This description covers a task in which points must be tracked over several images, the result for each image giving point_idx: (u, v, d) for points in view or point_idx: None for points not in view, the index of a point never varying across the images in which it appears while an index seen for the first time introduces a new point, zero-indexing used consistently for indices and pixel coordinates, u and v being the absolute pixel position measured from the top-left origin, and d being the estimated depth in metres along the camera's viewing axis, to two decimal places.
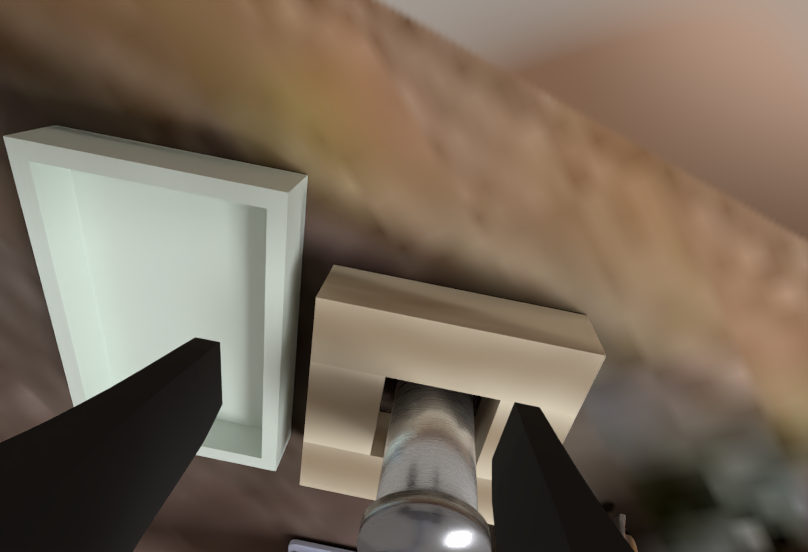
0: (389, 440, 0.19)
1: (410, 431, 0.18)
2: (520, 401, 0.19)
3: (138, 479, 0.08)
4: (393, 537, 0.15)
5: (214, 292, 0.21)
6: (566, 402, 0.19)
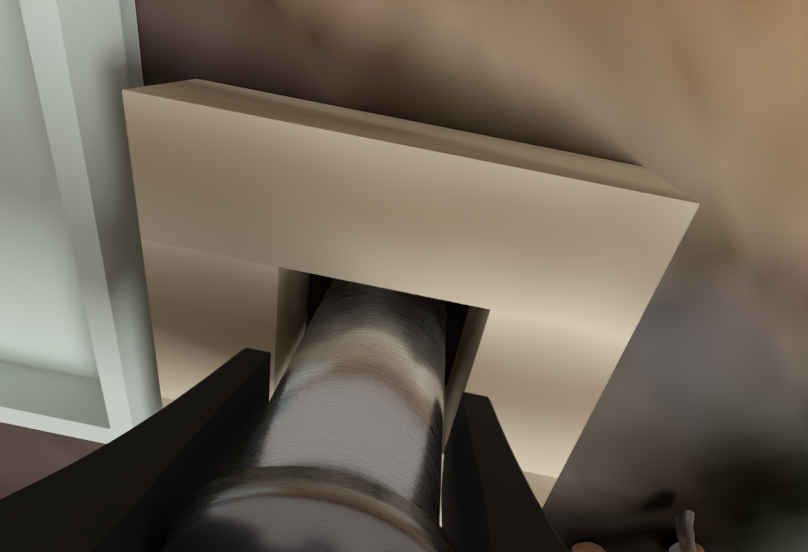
0: None
1: (313, 359, 0.09)
2: (527, 311, 0.10)
3: None
4: None
5: None
6: (613, 310, 0.10)
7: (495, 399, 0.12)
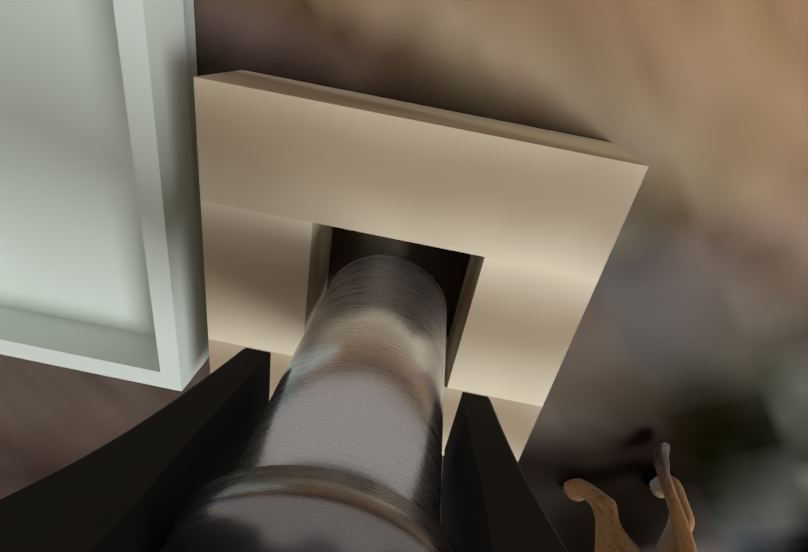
0: (280, 380, 0.10)
1: (313, 359, 0.09)
2: (514, 257, 0.13)
3: None
4: None
5: (75, 119, 0.15)
6: (583, 256, 0.13)
7: (489, 336, 0.14)
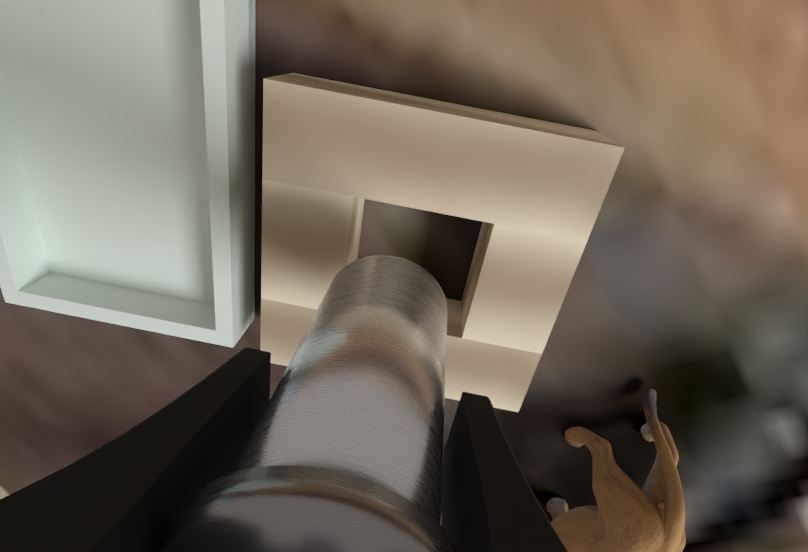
0: None
1: (314, 359, 0.09)
2: (518, 224, 0.16)
3: None
4: None
5: (152, 114, 0.18)
6: (574, 222, 0.16)
7: (497, 292, 0.17)
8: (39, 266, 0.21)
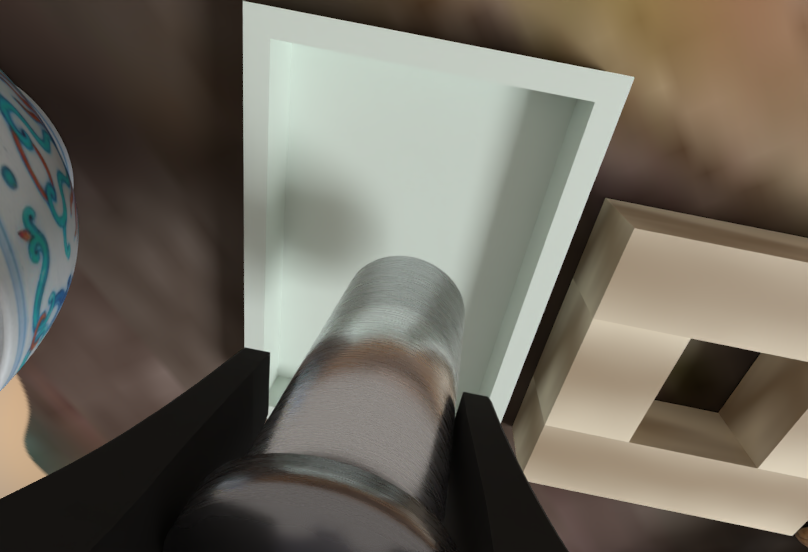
0: None
1: (326, 354, 0.10)
2: None
3: None
4: None
5: (443, 235, 0.17)
6: None
7: None
8: (274, 373, 0.20)
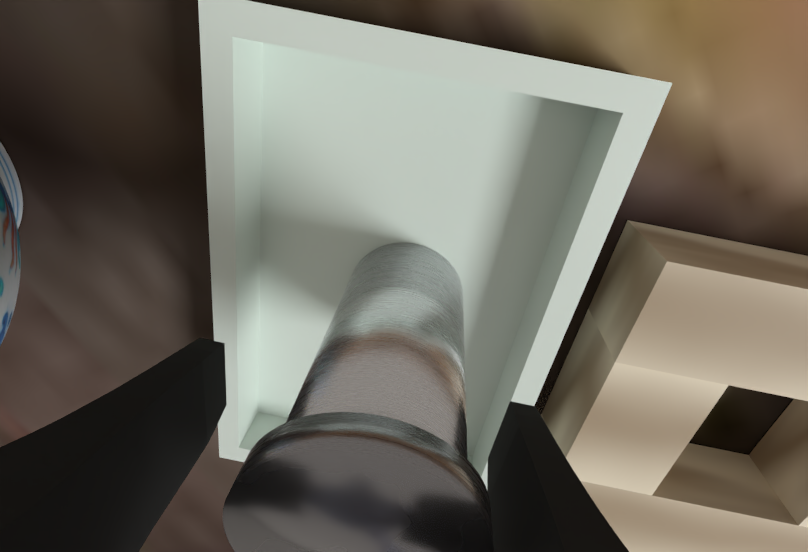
0: (317, 353, 0.11)
1: (349, 331, 0.10)
2: None
3: (143, 481, 0.08)
4: (290, 511, 0.08)
5: None
6: None
7: None
8: (253, 410, 0.18)
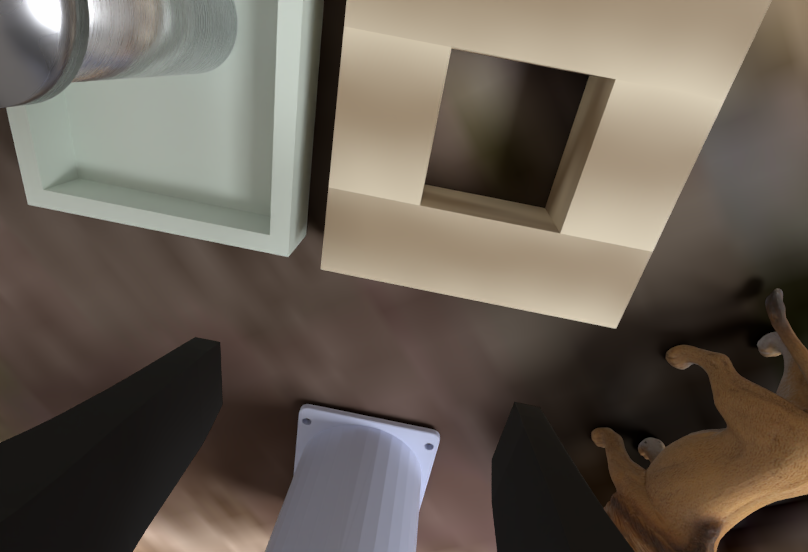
0: None
1: None
2: (644, 79, 0.14)
3: (138, 480, 0.08)
4: None
5: None
6: (712, 74, 0.13)
7: (609, 171, 0.15)
8: (67, 167, 0.19)
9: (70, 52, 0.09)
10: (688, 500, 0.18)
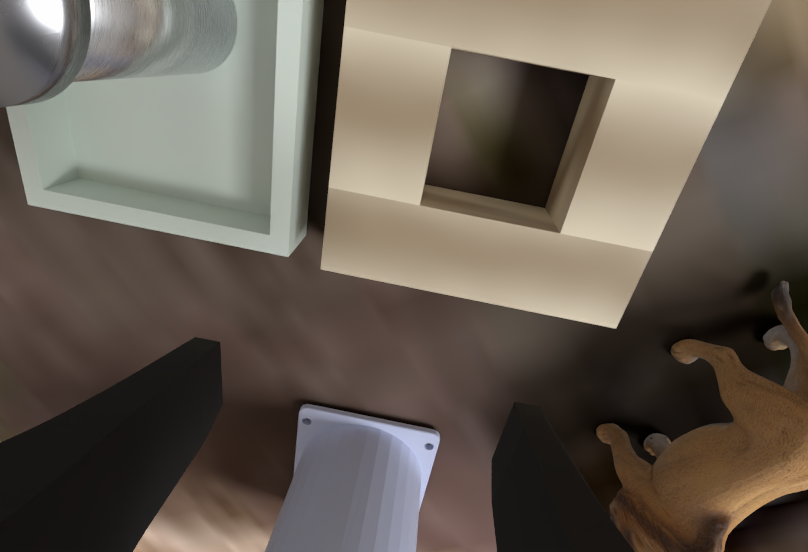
0: None
1: None
2: (644, 79, 0.14)
3: (138, 480, 0.08)
4: None
5: None
6: (712, 74, 0.13)
7: (609, 171, 0.15)
8: (67, 167, 0.19)
9: (71, 51, 0.09)
10: (695, 495, 0.17)
